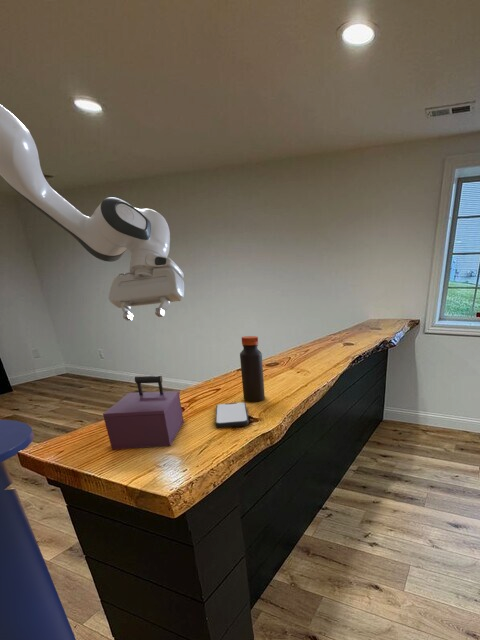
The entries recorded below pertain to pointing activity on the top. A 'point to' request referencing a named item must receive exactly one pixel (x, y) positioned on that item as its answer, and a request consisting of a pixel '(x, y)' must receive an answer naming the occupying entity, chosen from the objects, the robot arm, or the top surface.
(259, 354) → the bottle
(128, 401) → the lid
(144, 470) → the top surface
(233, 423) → the smartphone
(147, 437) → the purple box
